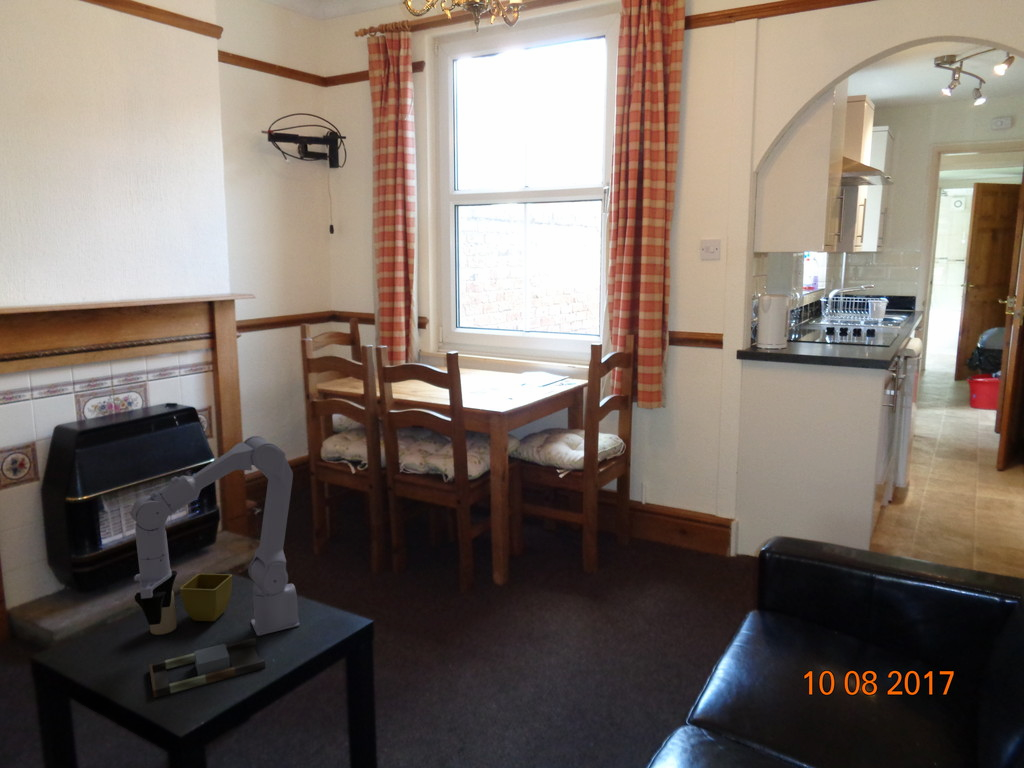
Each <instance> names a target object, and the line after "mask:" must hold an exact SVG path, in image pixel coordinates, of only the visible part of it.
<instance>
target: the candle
mask: <svg viewBox="0 0 1024 768" xmlns="http://www.w3.org/2000/svg"><path fill="white" fill-rule="evenodd" d="M174 592H175V591H173V590H172V596H171V604H170V607H164V608H162V617H161V622H160V624H156V625H149V631H150V633H151V634H152V635H156V636H157V635H160V636H161V635H165V634H168V633H172V632H173V631H175V630H176V629H177V627H178V626H177V615H176V614H177V613H176V606H175V603H176V602H175V594H174Z"/></svg>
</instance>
